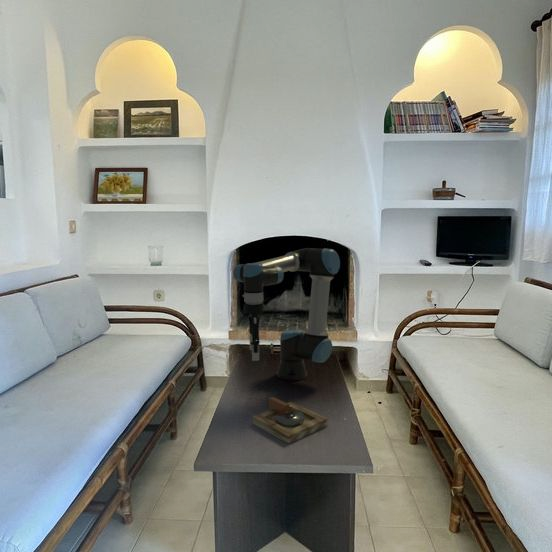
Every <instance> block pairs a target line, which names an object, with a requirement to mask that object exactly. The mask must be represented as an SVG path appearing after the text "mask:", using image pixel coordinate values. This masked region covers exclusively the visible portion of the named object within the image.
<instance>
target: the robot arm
mask: <svg viewBox="0 0 552 552" xmlns="http://www.w3.org/2000/svg"><path fill="white" fill-rule="evenodd" d="M340 268H341V260H340V256H339V254H338V252H337V251H335V249H332V248H315V247H313V248H311V247H306V248H301V249H300V248H299V249H298V250H293V251H289V252H286V254H285V255H281V256H278V257H274V258H269V259H265V260H262V261H257V262H252V263H250V262H249V263H245V264H244V263H242V264H237V265H236V266H235V267H234V268H233V272H232V273H233V277H234V280H235V281H237V282H241V283H243V294H242V297H243V300H244V303H243V311H244V313H245V314H247V315H249V316H248V324H249V326H248V328H249V330H248V331H249V332H248V333H249V351H251V361H252V362H255V361H256V362H257V361H260V343H261V342H260V330H259V328H260V317H259V316H258V315H260V314H262V313H264V303H263V302H264V287H265V286H273V285H277V284H280V283H282V281H284V276H285V275H284V273H285V272H288V271H289V272H292V273H293V272H307V273H308V272H309V278H311V289H310V290H311V291H310V302H309V311H308V322H307V328H306V330H305V331H304V330H303V329H288V330H284V331H283V332H281V333H280V339H279V344H280V345H279V346H280V348H279V349H280V350H279V351H280V361H279V362H278V363H279V365H278V367H277V370H276V376H277V378H278V379H281V380H282V381H283V380H284V381H290V382H291V381H293V382H294V381H301V380H304V379H306V378H307V376H308V371H307V368H306V364H305V362H304V360H306V361H310V362H314V363H325V362H326V361H328V359H329V358H330V356H331V354H332V352H333V351H332V350H333V343H332V340H331V339H330V338H329V333H328V332H327V331H326V330H327V322H328V321H327V319H328V310H329V308H328V307H329V299H330V298H329V297H330V290H331V287H330V286H331V281H332V280H333V279H334V278H335V277H334V276H335V275H336V274H338V272H339V270H340Z"/></svg>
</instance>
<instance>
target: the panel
mask: <svg viewBox="0 0 552 552" xmlns="http://www.w3.org/2000/svg"><path fill="white" fill-rule="evenodd" d="M288 404H289V409H291V410H298V411H300V412H302V413H303V414H304V416H305V417H304V423H303V424H301V425H299V426H294V427H287V426H282V425H279V424H278V423H277V422H276V421H275V415H276V413H277V411H275V410H273V409H271V408H270V409H269V410H266V411H264V412H261V413H258V414H255V415H253V416H252V424H253V425H255V426H256V427H258V428H259V429H262V430H264V431H265V432H267V433H268V434H271V435H272V436H274V437H275V438H277V439H279V440H281V441H283V442H284V443H286V444H291V443H294V442H296V441H298V440H300V439H302V438H304V437H306V436H308V435H311V434H312V433H315V432H317V431H319V430H321V429H323V428H325V427H328V420H329V419H328V418H327V417H325V416H322V415H321V414H319V413H316V412H313V411H312V410H310V409H308V408H305V407H303V406H302V405H299V404H297V403H294V402H292V401H290V402H288Z"/></svg>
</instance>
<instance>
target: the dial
mask: <svg viewBox="0 0 552 552" xmlns="http://www.w3.org/2000/svg"><path fill="white" fill-rule="evenodd" d="M288 403H289V402H288ZM288 403H287V402H286V401H283V400H281V399H279V398H277V397H274V396H271V397H269V398H268V408H270V410H271V409H273V410H275V411H277V413H276V415H275V421H276V422H277V423H278V424H279V425H282V426H287V427H294V426H299V425H301V424H303V423H304V417H305V416H304V414H303V413H302V412H300V411H298V410H291V409H289V404H288Z"/></svg>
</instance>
